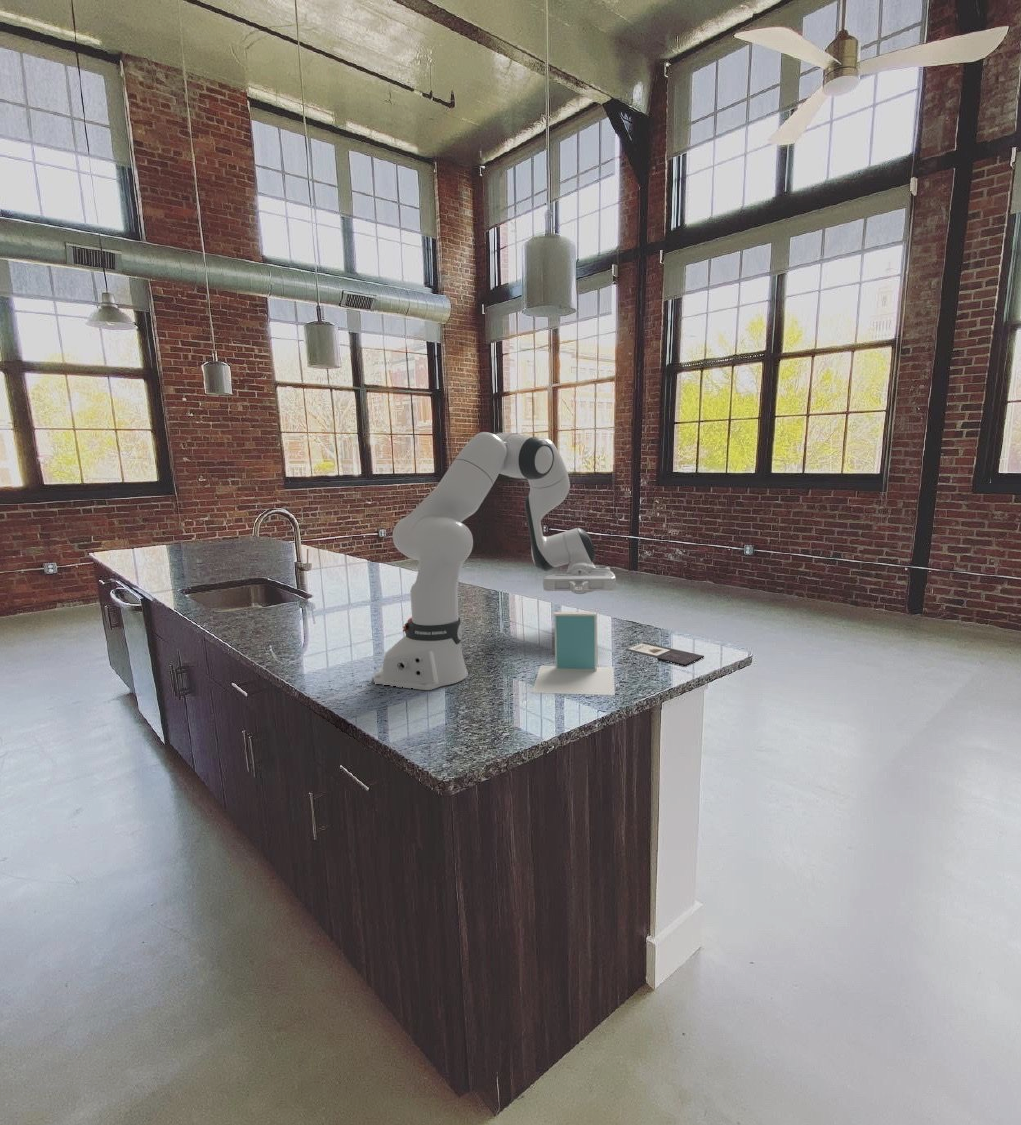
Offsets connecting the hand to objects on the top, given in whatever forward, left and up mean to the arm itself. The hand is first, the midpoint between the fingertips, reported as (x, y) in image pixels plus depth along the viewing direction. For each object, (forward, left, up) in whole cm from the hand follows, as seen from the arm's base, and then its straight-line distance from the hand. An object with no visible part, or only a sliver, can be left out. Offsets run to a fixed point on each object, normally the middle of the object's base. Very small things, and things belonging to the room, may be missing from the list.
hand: (578, 588), depth 160 cm
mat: (0, -25, -17) cm, 30 cm away
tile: (0, -18, -16) cm, 24 cm away
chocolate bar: (+22, -4, -17) cm, 28 cm away
